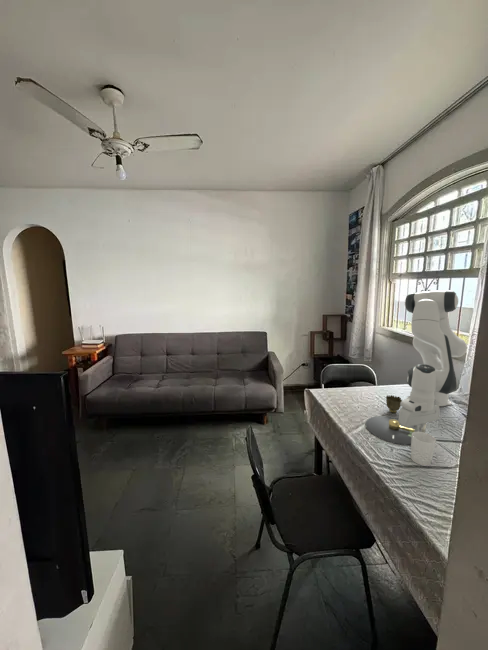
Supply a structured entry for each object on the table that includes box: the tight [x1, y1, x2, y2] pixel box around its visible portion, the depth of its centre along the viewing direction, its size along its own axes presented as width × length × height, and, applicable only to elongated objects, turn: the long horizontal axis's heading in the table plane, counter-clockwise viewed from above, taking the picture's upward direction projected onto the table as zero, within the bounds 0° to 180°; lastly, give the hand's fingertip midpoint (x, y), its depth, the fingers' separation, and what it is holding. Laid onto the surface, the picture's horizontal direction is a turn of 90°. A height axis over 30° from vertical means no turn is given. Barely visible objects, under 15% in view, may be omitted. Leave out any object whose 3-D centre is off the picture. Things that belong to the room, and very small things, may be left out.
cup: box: [385, 394, 403, 414], centre depth 149 cm, size 8×7×8 cm
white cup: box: [410, 432, 437, 467], centre depth 109 cm, size 8×8×10 cm
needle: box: [389, 419, 427, 433], centre depth 128 cm, size 14×4×6 cm, turn 55°
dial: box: [365, 415, 415, 446], centre depth 132 cm, size 24×24×1 cm
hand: (417, 432), depth 123 cm, fingers closed
